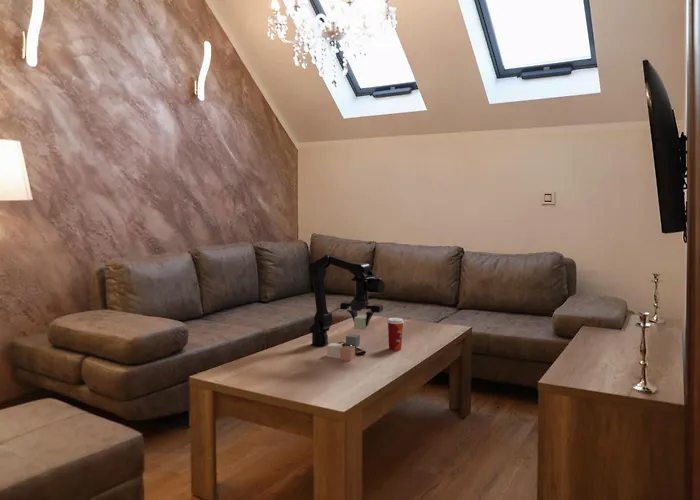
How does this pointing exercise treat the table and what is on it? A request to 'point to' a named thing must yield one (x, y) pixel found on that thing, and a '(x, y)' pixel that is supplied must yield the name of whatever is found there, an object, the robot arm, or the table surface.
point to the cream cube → (333, 350)
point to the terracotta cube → (347, 353)
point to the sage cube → (360, 322)
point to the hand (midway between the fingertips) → (361, 325)
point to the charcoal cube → (353, 340)
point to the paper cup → (395, 333)
